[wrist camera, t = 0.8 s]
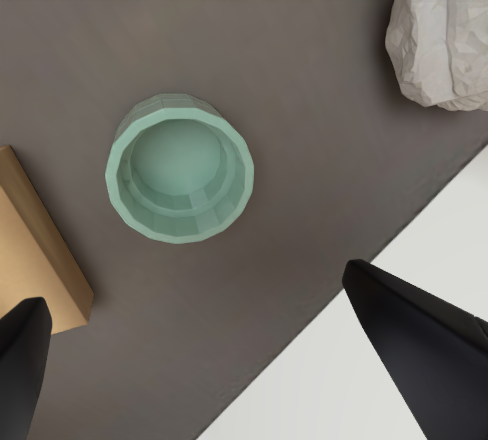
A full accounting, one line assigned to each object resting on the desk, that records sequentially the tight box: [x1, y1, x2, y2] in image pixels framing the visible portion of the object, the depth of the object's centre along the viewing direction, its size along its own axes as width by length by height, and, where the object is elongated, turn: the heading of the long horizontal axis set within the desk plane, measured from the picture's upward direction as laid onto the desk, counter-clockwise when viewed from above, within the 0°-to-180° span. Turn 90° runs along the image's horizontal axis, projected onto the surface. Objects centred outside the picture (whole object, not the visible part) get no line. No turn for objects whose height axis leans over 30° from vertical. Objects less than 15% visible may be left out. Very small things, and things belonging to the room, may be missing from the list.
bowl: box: [105, 94, 254, 244], centre depth 18 cm, size 7×7×5 cm
